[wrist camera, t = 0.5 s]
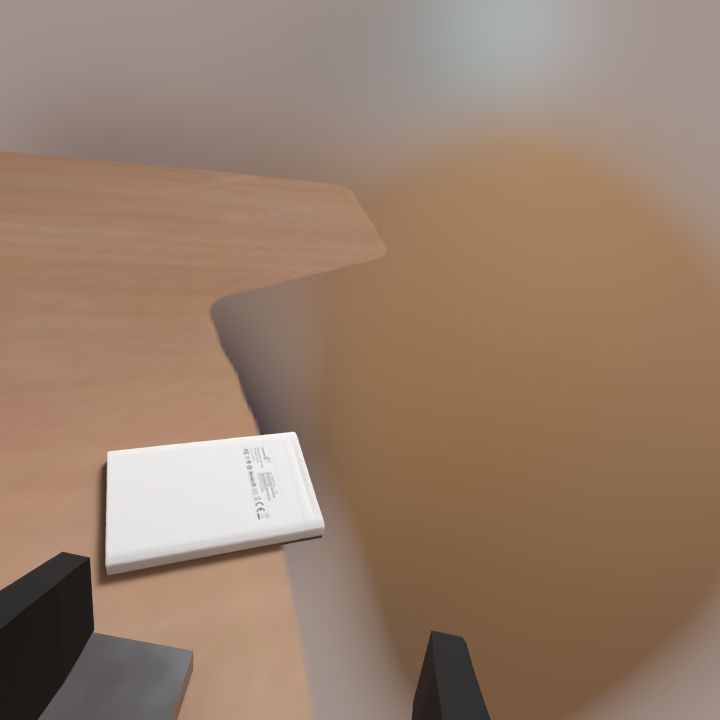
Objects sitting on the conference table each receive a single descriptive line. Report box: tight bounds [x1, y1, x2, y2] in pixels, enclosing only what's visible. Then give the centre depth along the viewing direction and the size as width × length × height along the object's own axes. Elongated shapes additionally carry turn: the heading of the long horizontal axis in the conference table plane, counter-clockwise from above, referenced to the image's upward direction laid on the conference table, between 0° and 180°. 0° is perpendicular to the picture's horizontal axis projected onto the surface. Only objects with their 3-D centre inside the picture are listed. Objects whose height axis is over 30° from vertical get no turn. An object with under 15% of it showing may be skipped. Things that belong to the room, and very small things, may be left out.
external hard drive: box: [105, 432, 325, 575], centre depth 34 cm, size 2×8×12 cm
